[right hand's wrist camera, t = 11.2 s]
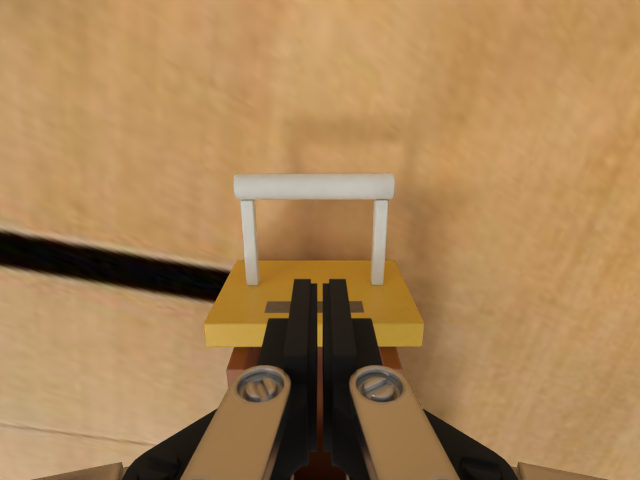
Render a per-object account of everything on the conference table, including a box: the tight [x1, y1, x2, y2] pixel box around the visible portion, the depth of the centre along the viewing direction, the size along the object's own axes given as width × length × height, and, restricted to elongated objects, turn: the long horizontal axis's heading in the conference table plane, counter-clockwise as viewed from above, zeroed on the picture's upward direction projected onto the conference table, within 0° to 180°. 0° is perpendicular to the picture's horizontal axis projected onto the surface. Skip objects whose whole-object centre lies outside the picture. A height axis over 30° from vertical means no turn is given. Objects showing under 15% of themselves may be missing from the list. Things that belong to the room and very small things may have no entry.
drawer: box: [204, 173, 424, 480], centre depth 22 cm, size 26×9×7 cm, turn 0°
